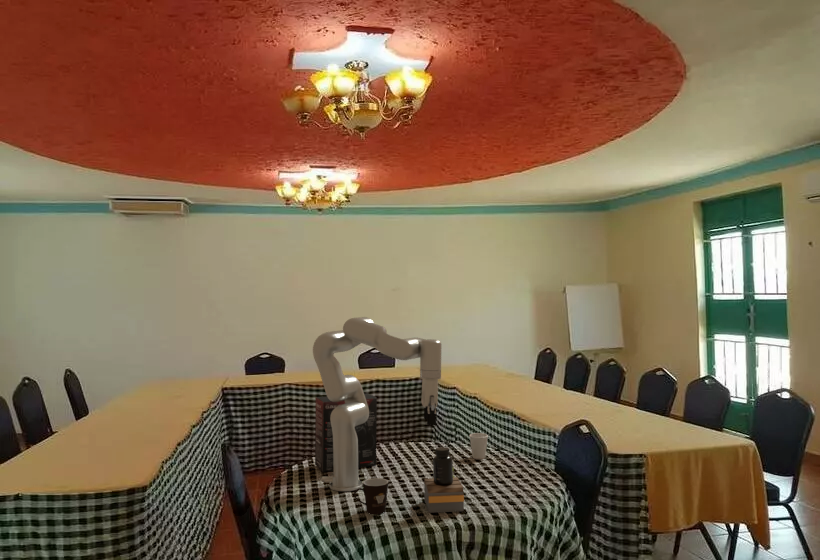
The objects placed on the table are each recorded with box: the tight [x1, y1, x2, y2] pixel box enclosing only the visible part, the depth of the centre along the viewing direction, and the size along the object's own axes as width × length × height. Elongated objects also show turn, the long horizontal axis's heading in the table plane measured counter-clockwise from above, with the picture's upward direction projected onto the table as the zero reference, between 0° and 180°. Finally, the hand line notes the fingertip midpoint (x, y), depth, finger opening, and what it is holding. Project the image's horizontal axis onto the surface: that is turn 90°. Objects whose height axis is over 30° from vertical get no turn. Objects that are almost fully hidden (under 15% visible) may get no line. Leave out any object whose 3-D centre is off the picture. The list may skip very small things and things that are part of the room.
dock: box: [423, 483, 465, 514], centre depth 222 cm, size 12×13×6 cm
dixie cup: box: [469, 432, 489, 460], centre depth 284 cm, size 8×8×10 cm
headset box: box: [314, 393, 378, 473], centre depth 274 cm, size 24×13×33 cm, turn 115°
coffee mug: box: [353, 477, 389, 515], centre depth 218 cm, size 12×9×10 cm
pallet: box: [423, 476, 464, 493], centre depth 222 cm, size 12×12×2 cm
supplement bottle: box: [432, 446, 454, 486], centre depth 222 cm, size 7×7×12 cm
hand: (430, 422), depth 228 cm, fingers open, 9 cm apart
